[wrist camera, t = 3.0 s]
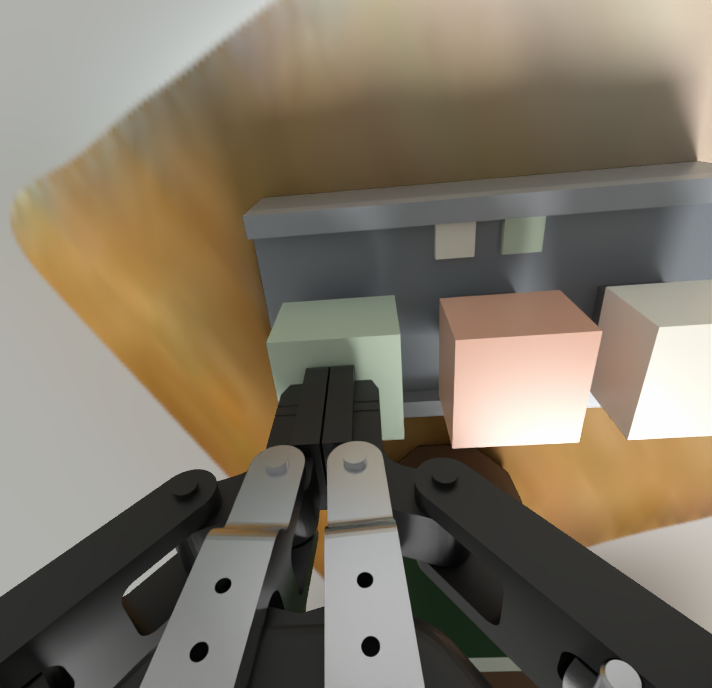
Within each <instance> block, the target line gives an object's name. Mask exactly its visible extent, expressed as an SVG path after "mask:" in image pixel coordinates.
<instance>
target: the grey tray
mask: <svg viewBox="0 0 712 688" xmlns="http://www.w3.org/2000/svg"><path fill="white" fill-rule="evenodd" d="M242 217H243V222H244V227H245V232H246V237H247V240H248V239H254V244H255V249H256V254H257V259H258V265H259V270H260V275H261V280H262V285H263V290H264V295H265V300H266V305H267V310H268V315H269V320H270V325H271V330H272V328H273V325H274V323H275V320H276V318H277V316H278V313H279V311H280V308H281V306H282V304H283V303H288V302H302V301H316V300H330V299H345V298H359V297H373V296H387V295H395V302H396V309H397V315H398V322H399V329H400V337H401V363H402V388H403V414H404V418H408V417H427V416H444V414H443V410H442V406H441V402H440V398H439V306H440V298H451V297H466V296H480V295H494V294H509V293H523V292H538V291H552V290H561V291H562V292H563V293H564V294H565V295H566V296H567V297H568V298H569V299H570V300H571V301H572V302H573V303H574V304H575V305H576V306H577V307H578V308H579V309H580V310H581V311H582V312H584V313H585V314H586V315H587V316H588V317H589V318H590V319H591V320H592V321H593V322H594V323H595V324H596V325H597V326H598V323H599V319H600V314H601V309H602V304H603V299H604V294H605V289H606V287H609V286H624V285H638V284H653V283H667V282H681V281H696V280H710V279H712V163H707V162H701V161H693V162H681V163H669V164H658V165H646V166H634V167H622V168H610V169H598V170H587V171H575V172H563V173H551V174H539V175H527V176H516V177H504V178H492V179H480V180H468V181H457V182H445V183H433V184H421V185H409V186H397V187H386V188H374V189H362V190H350V191H338V192H327V193H315V194H303V195H291V196H279V197H267V198H262V199H261V200H260V201H259V202H257V203H256V204H255V205H254V206H253V207H252V208H251V209H250V210H249V211H248V212H246V213H245V214H244V215H243V216H242ZM593 407H602V406H601V405H600V404H599V403H598V401H597V400H596V399H595V398H594V396H593V395H592V394H591V392H590V393H589V398H588V402H587V407H586V408H593Z"/></svg>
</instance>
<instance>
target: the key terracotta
mask: <svg viewBox="0 0 712 688" xmlns="http://www.w3.org/2000/svg"><path fill="white" fill-rule="evenodd" d="M602 332H603V331H602V330H601V329H600V328H599V327H598V326H597V325H596V324H595V323H594V322H593V321H592V320H591V319H590V318H589V317H588V316H587V315H586V314H585V313H584V312H582V311H581V310H580V309H579V308H578V307H577V306H576V305H575V304H574V303H573V302H572V301H571V300H570V299H569V298H568V297H567V296H566V295H565V294H564V293H563V292H562V291H561V290H552V291H538V292H523V293H509V294H494V295H480V296H466V297H451V298H440V306H439V398H440V402H441V406H442V410H443V414H444V418H445V422H446V426H447V430H448V434H449V438H450V441H451V445H452V449H455V448H475V447H495V446H515V445H536V444H556V443H576V442H579V440H580V435H581V431H582V426H583V421H584V417H585V412H586V407H587V402H588V398H589V393H590V388H591V384H592V379H593V374H594V370H595V365H596V360H597V356H598V351H599V346H600V342H601V337H602Z"/></svg>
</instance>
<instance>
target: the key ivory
mask: <svg viewBox="0 0 712 688" xmlns="http://www.w3.org/2000/svg"><path fill="white" fill-rule="evenodd" d="M598 327H599V328H600V329H601V330H602V331H603V332H602V337H601V342H600V346H599V351H598V356H597V360H596V365H595V370H594V374H593V379H592V384H591V388H590V392H591V394H592V395H593V396H594V398H595V399H596V400H597V401H598V403H599V404H600V405H601V406H602V408H603V409H604V410H605V412H606V413H607V414H608V415H609V417H610V418H611V419H612V421H613V422H614V423H615V424H616V426H617V427H618V428H619V430H620V431H621V432H622V433H623V435H624V436H625V437H626V439H627V440H636V439H656V438H676V437H697V436H712V279H710V280H696V281H681V282H667V283H653V284H638V285H624V286H609V287H606V289H605V294H604V299H603V304H602V309H601V314H600V319H599V323H598Z"/></svg>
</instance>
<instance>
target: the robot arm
mask: <svg viewBox="0 0 712 688" xmlns="http://www.w3.org/2000/svg"><path fill="white" fill-rule="evenodd" d="M320 510H327V511H328V526H327V527H325V536H324V569H325V606H324V607H321V608H317V609H314V610H311V611H308V612H306V602H307V597H308V591H309V586H310V580H311V575H312V569H313V564H314V558H315V553H316V547H317V542H318V535H319V534H318V521H319V511H320ZM174 548H176V550H177V552H178V553H177V554H176V555H175V556H173V557H172V558H171V559H170V560H169V561H167V562H166V563H165V564H164V565H162V566H161V567H160V568H159V569H158V570H156V571H155V572H154V573H153V574H152V575H150V576H149V577H148V578H147V579H146V580H144V581H143V582H142V583H141V584H140V585H139V586H137V587H136V588H135V589H133V590H132V591H131V592H130V593H129V594H127V595H126V596H124V597H123V594H124V592H125V590H126V589H127V588H128V586H130V585H131V584H132V582H134V581H135V580H136V579H137V578H139V577H140V576H141V575H142V574H143V573H145V572H146V571H147V570H148V569H150V568H151V567H152V566H153V565H154V564H155V563H157V562H158V561H159V560H161V559H162V558H163V557H164V556H166V555H167V554H168V553H169V552H170V551H172V550H173V549H174ZM402 556H404V557H408V558H412V559H415V560H417V563H418V565H419V567H420V569H421V570H422V571H423V572H424V573H425V574H426V575H427V576H428V577H429V578H430V579H431V580H432V581H433V582H434V583H435V584H436V585H437V586H438V587H439V588H440V589H441V590H442V591H443V592H444V593H445V594H446V595H447V596H448V597H449V598H450V599H451V600H452V601H453V602H454V603H455V604H456V605H457V606H458V607H459V608H460V609H461V610H462V611H463V612H464V613H465V614H466V615H467V616H468V617H469V618H470V619H471V620H472V621H473V622H474V623H475V624H476V625H477V626H478V627H479V628H480V629H481V630H482V631H483V632H484V633H485V634H486V635H487V636H488V637H489V638H490V639H491V640H492V641H493V642H494V643H495V644H496V645H497V646H498V647H499V648H500V649H501V650H502V651H503V652H504V653H505V654H506V655H507V656H508V657H509V658H510V659H511V660H512V661H513V662H514V663H515V664H516V665H517V666H518V667H519V668H520V669H521V670H522V671H523V672H524V673H525V674H526V675H527V676H528V677H529V678H530V679H531V680H532V681H533V682H534V683H535V684H536V685H537V686H538V687H539V688H712V634H711V633H709V632H708V631H706V630H705V629H704V628H702V627H700V626H699V625H698V624H696V623H695V622H693V621H692V620H690V619H689V618H687V617H686V616H685V615H683V614H682V613H680V612H679V611H677V610H676V609H674V608H673V607H671V606H670V605H668V604H667V603H666V602H664V601H663V600H661V599H660V598H658V597H657V596H656V595H654V594H653V593H651V592H650V591H648V590H647V589H645V588H644V587H642V586H641V585H640V584H638V583H637V582H635V581H634V580H632V579H631V578H629V577H628V576H626V575H625V574H624V573H622V572H620V571H619V570H617V569H616V568H615V567H613V566H612V565H610V564H609V563H607V562H606V561H604V560H603V559H602V558H600V557H599V556H597V555H596V554H594V553H593V552H592V551H590V550H589V549H587V548H586V547H584V546H583V545H581V544H580V543H578V542H577V541H576V540H574V539H573V538H571V537H570V536H568V535H567V534H565V533H564V532H562V531H561V530H560V529H558V528H557V527H555V526H554V525H552V524H551V523H549V522H548V521H546V520H545V519H544V518H542V517H541V516H539V515H538V514H536V513H535V512H533V511H532V510H530V509H529V508H528V507H526V506H525V505H523V504H522V503H520V502H519V501H517V500H516V499H514V498H513V497H512V496H510V495H509V494H507V493H506V492H504V491H503V490H501V489H500V488H498V487H497V486H496V485H494V484H493V483H491V482H490V481H488V480H487V479H485V478H484V477H482V476H481V475H480V474H478V473H477V472H475V471H474V470H472V469H471V468H469V467H468V466H466V465H465V464H463V463H462V462H460V461H457V460H455V459H451V458H442V457H440V458H433V459H430V460H427V461H425V462H423V463H422V464H421V465H420V466H419V467H418V468H417V469H415V468H411V467H406V466H402V465H400V464H397V463H396V462H394V461H392V460H391V459H390V458H389V457H388V456H387V455H386V454H385V452H384V450H383V444H382V428H381V413H380V398H379V388H378V387H377V386H376V385H375V383H374V382H373V381H372V380H356V377H355V367H354V365H343V366H331V369H330V367H313V368H306V370H305V375H304V380H303V384H293V385H290V386H289V387H288V388H287V389H286V390H285V391H284V392H283V393H282V394H281V396H280V400H279V404H278V408H277V411H276V415H275V418H274V422H273V426H272V429H271V433H270V436H269V440H268V444H267V447H266V449H265V450H264V451H262V452H260V453H259V454H258V455H257V456H256V457H255V458H254V459H253V460H252V462H251V464H250V466H249V469H248V471H247V472H245V473H242V474H240V475H237V476H234V477H231V478H227V479H224V480H221V481H216V478H215V476H214V475H213V474H212V473H211V472H208V471H206V470H200V469H198V470H196V469H195V470H190V471H186V472H183V473H180V474H178V475H176V476H174V477H173V478H171V479H170V480H168V481H167V482H165V483H164V484H163V485H161V486H160V487H159V488H157V489H155V490H154V491H152V492H151V493H150V494H148V495H147V496H145V497H144V498H142V499H141V500H140V501H138V502H137V503H135V504H134V505H133V506H131V507H130V508H128V509H127V510H125V511H124V512H122V513H121V514H119V515H118V516H117V517H115V518H114V519H112V520H111V521H109V522H108V523H107V524H105V525H104V526H102V527H101V528H99V529H98V530H96V531H95V532H93V533H92V534H91V535H89V536H88V537H86V538H85V539H83V540H82V541H80V542H79V543H78V544H76V545H75V546H73V547H72V548H71V549H69V550H67V551H66V552H65V553H63V554H62V555H60V556H59V557H57V558H56V559H55V560H53V561H52V562H50V563H49V564H47V565H46V566H44V567H43V568H42V569H40V570H39V571H37V572H36V573H34V574H33V575H31V576H30V577H28V578H27V579H26V580H24V581H23V582H21V583H20V584H18V585H17V586H16V587H14V588H13V589H11V590H10V591H9V592H7V593H6V594H4V595H3V596H1V597H0V688H493V686H492V685H491V684H490V683H489V682H488V681H487V680H486V678H485V677H484V676H483V675H482V674H481V673H480V671H479V670H478V669H477V668H476V667H475V666H474V664H473V663H472V662H471V661H470V660H469V659H468V657H467V656H466V655H465V654H464V653H463V652H462V651H461V649H460V648H459V647H458V646H457V645H456V644H455V643H454V642H453V641H452V640H451V639H450V638H449V637H447V636H446V635H445V634H444V633H443V632H441V631H440V630H438V629H437V628H436V627H434V626H433V625H431V624H429V623H427V622H425V621H423V620H421V619H419V618H416V617H414V616H412V611H411V605H410V599H409V594H408V588H407V582H406V576H405V570H404V565H403V559H402Z"/></svg>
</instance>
